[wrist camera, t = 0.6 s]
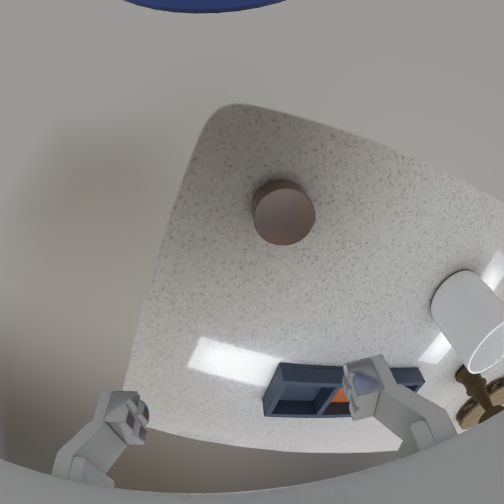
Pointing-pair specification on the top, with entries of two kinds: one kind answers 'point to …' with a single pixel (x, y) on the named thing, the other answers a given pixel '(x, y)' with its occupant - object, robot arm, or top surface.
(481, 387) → the kendama
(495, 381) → the wood slice coaster
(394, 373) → the grid
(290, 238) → the cylinder
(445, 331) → the mug
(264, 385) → the top surface
